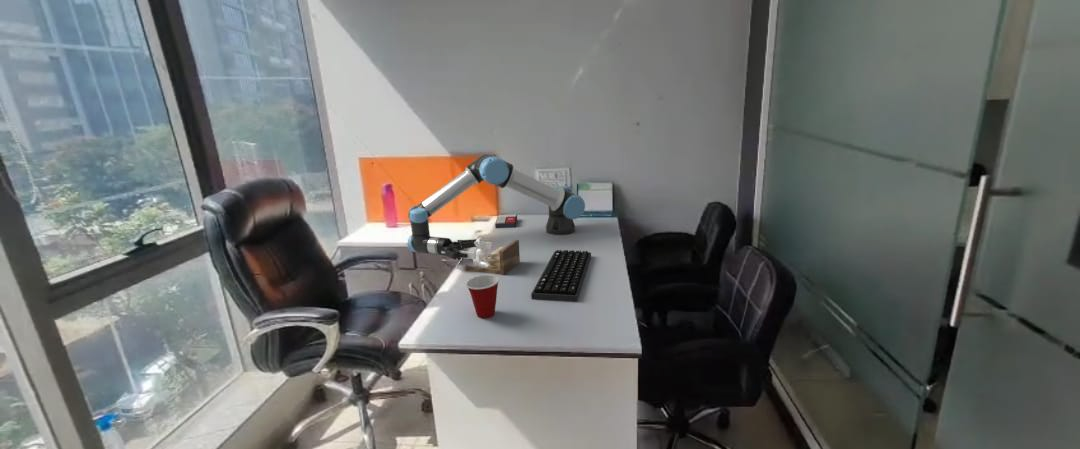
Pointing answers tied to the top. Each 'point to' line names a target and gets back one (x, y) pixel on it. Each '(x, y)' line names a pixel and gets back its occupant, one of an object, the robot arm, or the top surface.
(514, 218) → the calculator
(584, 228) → the top surface
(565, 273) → the computer keyboard
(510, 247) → the walnut rack
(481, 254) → the white creature statuette
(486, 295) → the plastic cup
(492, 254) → the offcut stack
